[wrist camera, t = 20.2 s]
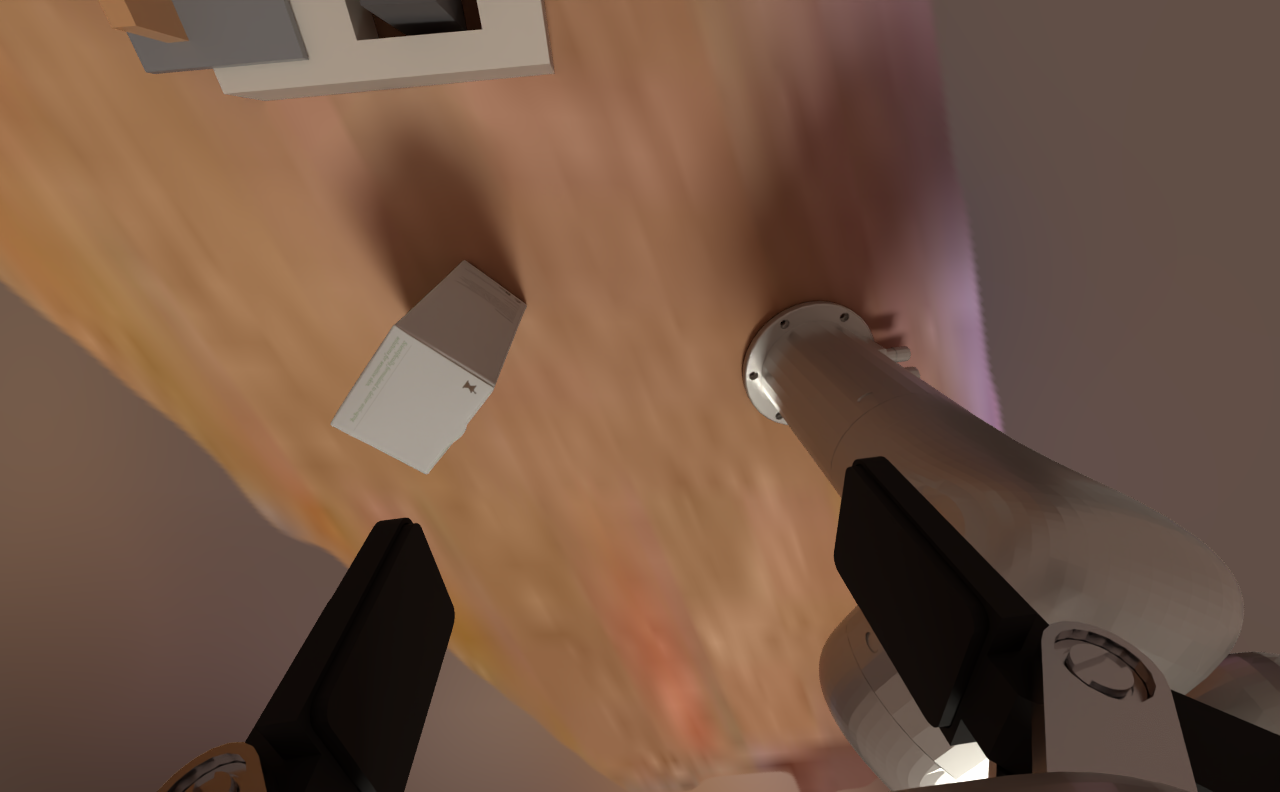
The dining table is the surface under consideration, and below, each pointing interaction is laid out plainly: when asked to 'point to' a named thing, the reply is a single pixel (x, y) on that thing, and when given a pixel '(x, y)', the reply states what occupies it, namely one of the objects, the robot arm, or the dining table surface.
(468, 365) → the skincare box
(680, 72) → the dining table surface
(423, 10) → the plug
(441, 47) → the socket block
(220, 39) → the shutter
